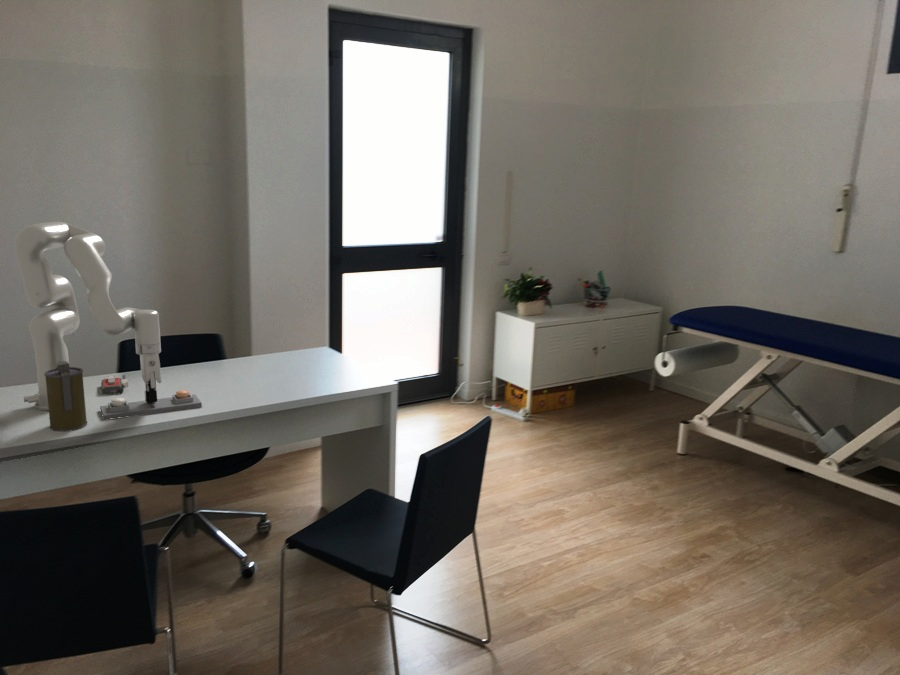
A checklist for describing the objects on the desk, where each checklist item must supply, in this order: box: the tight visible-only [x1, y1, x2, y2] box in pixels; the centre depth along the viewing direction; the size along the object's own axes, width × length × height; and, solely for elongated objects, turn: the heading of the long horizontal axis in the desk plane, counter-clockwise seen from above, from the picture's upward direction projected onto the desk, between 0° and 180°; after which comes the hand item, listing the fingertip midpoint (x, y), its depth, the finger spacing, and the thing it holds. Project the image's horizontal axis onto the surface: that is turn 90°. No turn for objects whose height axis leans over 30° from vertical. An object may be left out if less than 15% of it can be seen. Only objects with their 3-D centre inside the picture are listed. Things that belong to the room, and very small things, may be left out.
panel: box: [99, 392, 203, 420], centre depth 244 cm, size 30×10×3 cm, turn 121°
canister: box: [44, 361, 88, 432], centre depth 224 cm, size 11×10×20 cm
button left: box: [110, 397, 126, 407], centre depth 238 cm, size 4×4×2 cm
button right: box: [175, 389, 190, 399], centre depth 248 cm, size 4×4×2 cm
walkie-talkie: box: [100, 374, 129, 395], centre depth 265 cm, size 9×4×20 cm
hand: (151, 401), depth 242 cm, fingers closed
